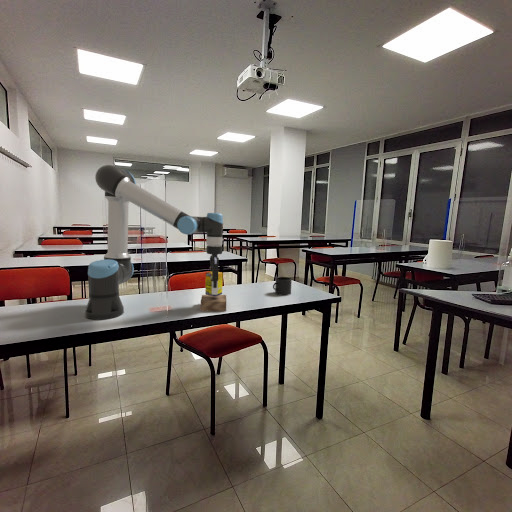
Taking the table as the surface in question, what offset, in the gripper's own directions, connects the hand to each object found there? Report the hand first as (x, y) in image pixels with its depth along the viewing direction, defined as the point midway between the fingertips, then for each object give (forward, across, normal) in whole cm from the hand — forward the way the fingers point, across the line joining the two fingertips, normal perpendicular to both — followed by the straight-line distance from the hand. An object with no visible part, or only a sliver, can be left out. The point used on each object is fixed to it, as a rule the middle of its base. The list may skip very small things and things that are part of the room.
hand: (213, 291), depth 146 cm
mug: (+8, +22, -42) cm, 48 cm away
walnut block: (+8, 0, 0) cm, 8 cm away
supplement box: (+1, 0, 0) cm, 1 cm away
